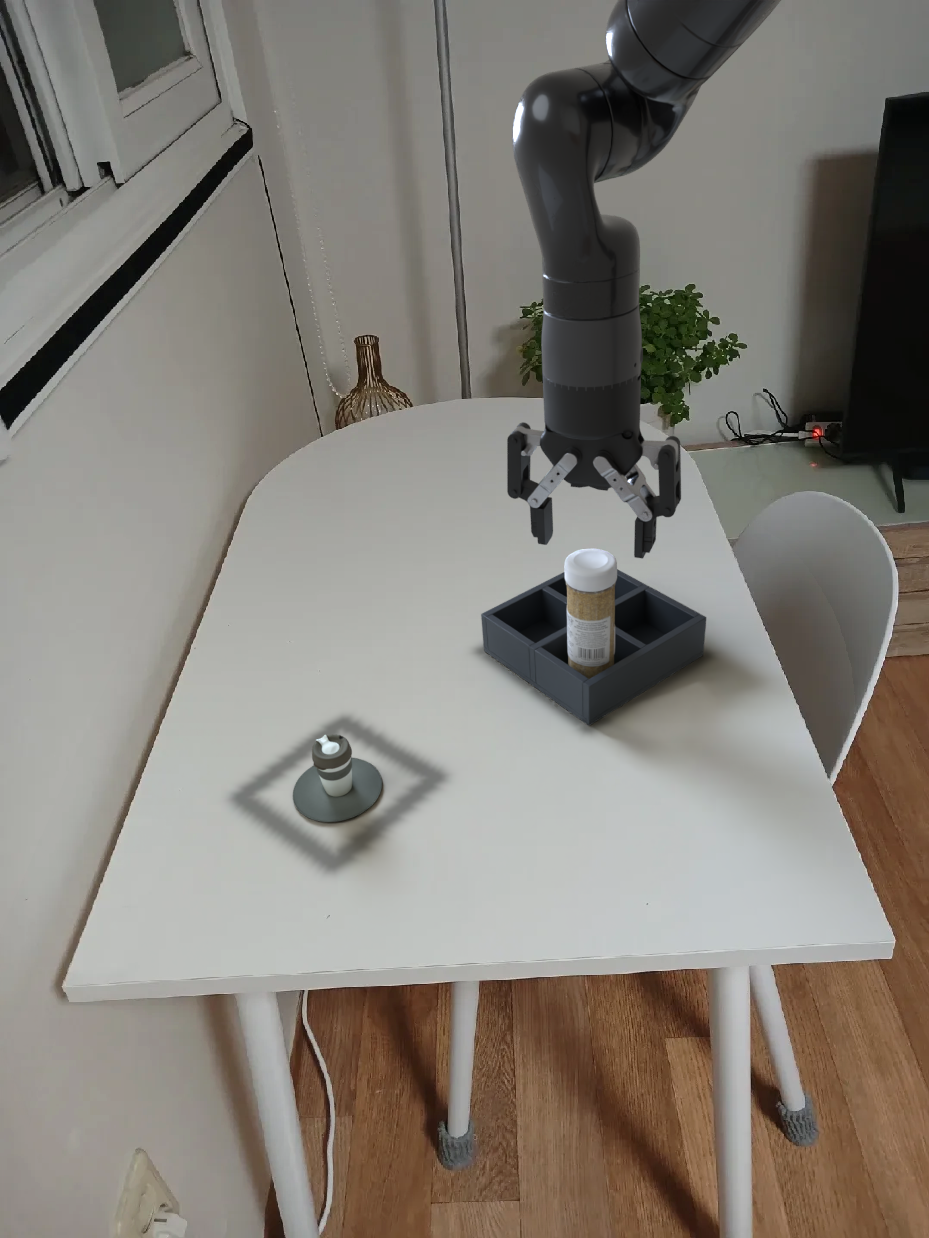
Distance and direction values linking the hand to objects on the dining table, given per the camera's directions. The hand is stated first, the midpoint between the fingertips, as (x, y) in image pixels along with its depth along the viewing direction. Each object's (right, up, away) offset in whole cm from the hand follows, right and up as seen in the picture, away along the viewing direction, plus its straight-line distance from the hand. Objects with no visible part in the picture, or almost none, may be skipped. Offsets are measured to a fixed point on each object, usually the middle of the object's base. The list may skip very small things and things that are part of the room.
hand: (592, 546), depth 82 cm
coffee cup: (-22, -21, 0) cm, 30 cm away
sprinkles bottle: (+1, -12, +8) cm, 15 cm away
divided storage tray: (+2, -10, +13) cm, 16 cm away
